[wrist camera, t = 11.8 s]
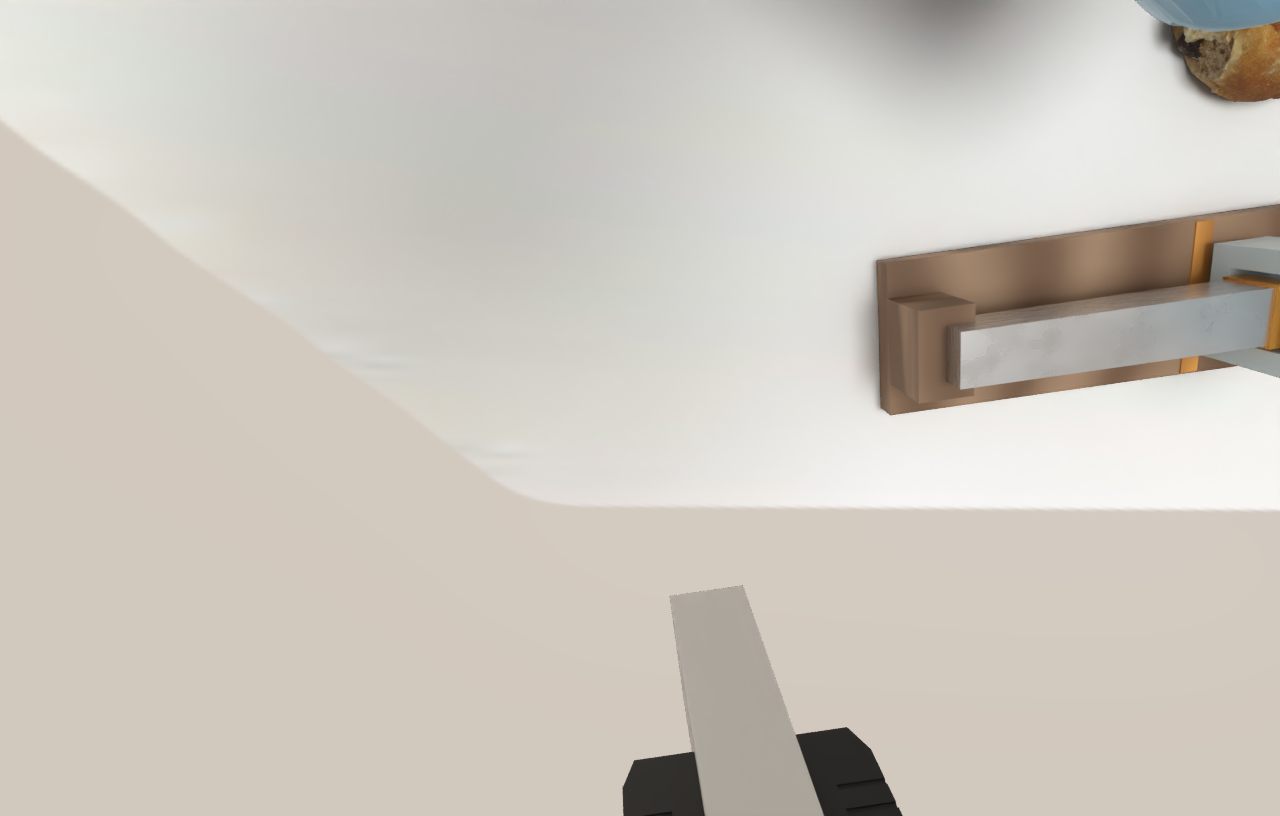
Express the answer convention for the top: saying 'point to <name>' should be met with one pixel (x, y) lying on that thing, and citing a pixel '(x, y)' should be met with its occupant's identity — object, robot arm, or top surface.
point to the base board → (1038, 298)
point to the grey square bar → (1115, 331)
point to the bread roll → (1234, 60)
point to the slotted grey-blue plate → (1253, 260)
